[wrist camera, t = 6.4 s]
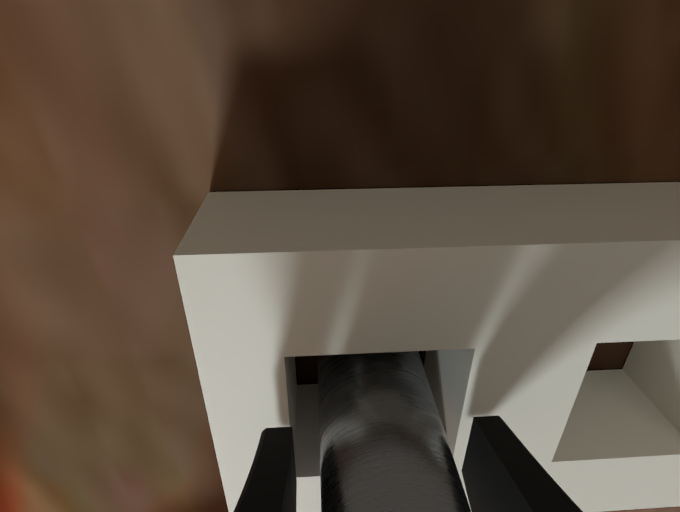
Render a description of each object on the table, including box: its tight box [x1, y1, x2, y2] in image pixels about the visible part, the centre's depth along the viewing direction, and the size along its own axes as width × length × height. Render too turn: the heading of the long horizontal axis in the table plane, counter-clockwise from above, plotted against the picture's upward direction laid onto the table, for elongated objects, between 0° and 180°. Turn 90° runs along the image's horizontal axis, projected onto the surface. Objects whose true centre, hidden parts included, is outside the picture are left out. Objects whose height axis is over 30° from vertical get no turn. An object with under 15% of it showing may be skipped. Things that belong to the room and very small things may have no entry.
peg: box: [317, 351, 471, 512], centre depth 10 cm, size 3×3×9 cm
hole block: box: [173, 182, 680, 512], centre depth 13 cm, size 16×10×4 cm, turn 90°
